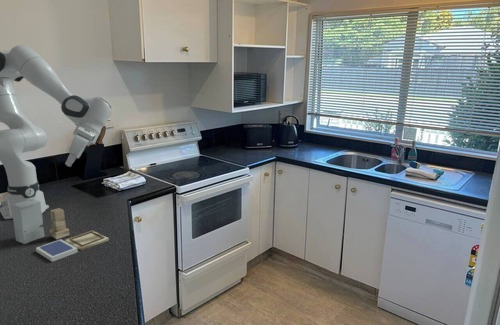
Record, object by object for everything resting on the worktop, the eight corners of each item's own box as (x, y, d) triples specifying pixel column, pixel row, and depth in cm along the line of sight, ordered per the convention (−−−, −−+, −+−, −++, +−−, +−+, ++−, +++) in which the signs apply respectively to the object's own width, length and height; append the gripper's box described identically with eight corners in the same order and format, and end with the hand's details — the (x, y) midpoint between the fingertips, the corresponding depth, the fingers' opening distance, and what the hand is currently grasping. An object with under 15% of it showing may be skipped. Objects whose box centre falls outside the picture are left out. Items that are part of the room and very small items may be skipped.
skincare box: (24, 244, 139) (18, 207, 136) (15, 241, 142) (9, 204, 139) (45, 236, 146) (41, 200, 143) (36, 233, 149) (31, 198, 146)
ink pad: (36, 251, 134) (35, 247, 133) (61, 242, 141) (60, 238, 140) (52, 261, 127) (51, 257, 126) (77, 252, 134) (77, 247, 133)
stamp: (50, 237, 146) (47, 210, 143) (63, 232, 150) (60, 207, 147) (56, 240, 143) (53, 213, 140) (69, 236, 147) (66, 209, 144)
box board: (65, 241, 142) (65, 238, 142) (92, 232, 150) (92, 229, 150) (81, 250, 135) (81, 247, 134) (109, 240, 143) (108, 237, 143)
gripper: (78, 134, 157) (61, 163, 154) (77, 127, 139) (57, 160, 135) (92, 141, 159) (76, 170, 156) (93, 136, 141) (74, 168, 137)
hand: (67, 165), depth 146 cm, fingers open, 8 cm apart
